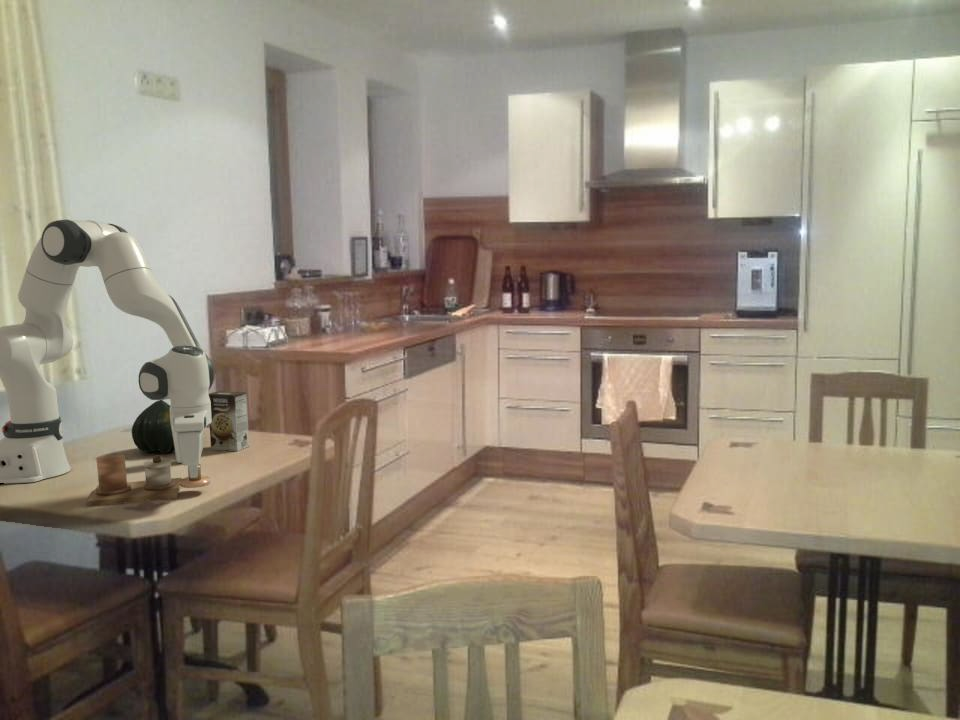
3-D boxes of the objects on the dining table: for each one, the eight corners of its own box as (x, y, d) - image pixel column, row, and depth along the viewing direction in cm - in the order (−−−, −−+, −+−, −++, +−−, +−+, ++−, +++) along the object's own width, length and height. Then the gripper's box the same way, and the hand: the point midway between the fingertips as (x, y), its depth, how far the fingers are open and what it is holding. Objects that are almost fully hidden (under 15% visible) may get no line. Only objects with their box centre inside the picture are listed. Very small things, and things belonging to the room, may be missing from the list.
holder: (87, 506, 193) (83, 466, 192) (98, 489, 206) (95, 452, 205) (177, 498, 198) (174, 458, 196) (182, 482, 211) (179, 445, 210)
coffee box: (209, 450, 245) (206, 394, 242) (223, 444, 251) (219, 390, 249) (237, 451, 242) (233, 394, 240) (250, 446, 248) (247, 391, 246)
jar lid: (178, 488, 197) (177, 470, 197) (181, 481, 204) (180, 462, 203) (209, 486, 199) (208, 468, 198) (211, 478, 205) (210, 460, 205)
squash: (144, 441, 232) (172, 394, 239) (113, 438, 241) (140, 393, 248) (181, 467, 242) (207, 421, 249) (150, 462, 251) (175, 418, 258)
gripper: (180, 408, 208) (184, 464, 210) (172, 426, 189) (176, 487, 191) (208, 407, 210) (211, 462, 212) (203, 424, 190) (206, 485, 192)
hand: (194, 474), depth 201 cm, fingers closed on jar lid, 3 cm apart
